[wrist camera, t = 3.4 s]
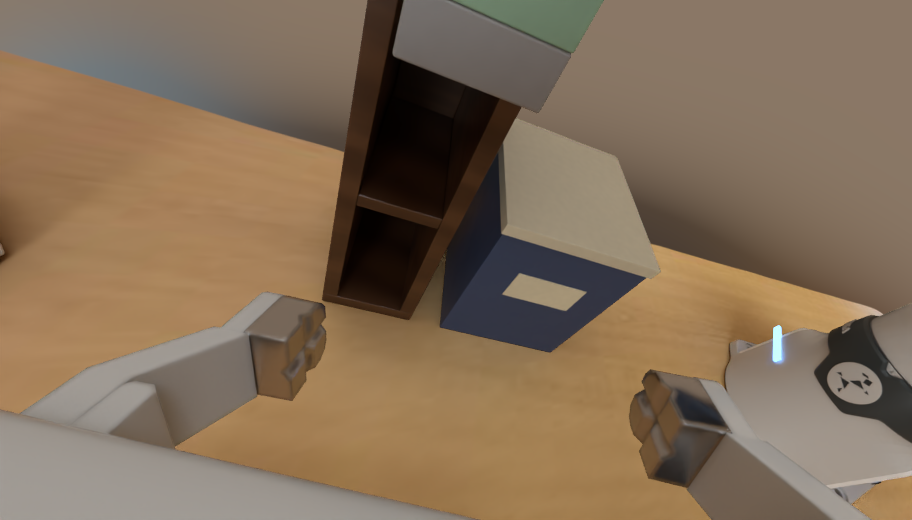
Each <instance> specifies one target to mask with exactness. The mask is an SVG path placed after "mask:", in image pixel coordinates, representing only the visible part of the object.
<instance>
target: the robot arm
mask: <svg viewBox="0 0 912 520" xmlns="http://www.w3.org/2000/svg"><path fill="white" fill-rule="evenodd" d="M325 318H326V312H325V306H324V305H323V304H322V303H318V302H314V301H309V300H305V299H300V298H296V297H291V296H287V295H281V294H277V293H272V292H263V293H261V294H259V295H258V296H257V297H256V298H255V299H254V300H252V301H251V302H250V303H249V304H248V305H247V306H245V307H244V308H243V309H242V310H241V311H239V312H238V313H237V314H236V315H235V316H234V317H232V318H231V319H230V320H229V321H228V322H226V323H225V324H224V325H223V326H222V327H221V328H219V327H211V328H208V329H205V330H202V331H199V332H196V333H193V334H190V335H186V336H183V337H180V338H177V339H174V340H171V341H168V342H165V343H162V344H159V345H156V346H153V347H149V348H146V349H143V350H140V351H137V352H134V353H131V354H128V355H125V356H122V357H119V358H116V359H112V360H109V361H106V362H103V363H100V364H97V365H94V366H91V367H88V368H86V369H84V370H83V371H81V372H80V373H79V374H77V375H76V376H74V377H73V378H71V379H70V380H68V381H67V382H65V383H64V384H62V385H61V386H59V387H58V388H56V389H55V390H53V391H52V392H51V393H49V394H48V395H46V396H45V397H43V398H42V399H40V400H39V401H37V402H36V403H34V404H33V405H31V406H30V407H28V408H27V409H25V410H24V411H23V412H21V413H20V414H18V413H14V412H10V411H5V410H1V409H0V520H479V519H475V518H471V517H466V516H462V515H458V514H453V513H449V512H445V511H440V510H436V509H432V508H427V507H423V506H419V505H414V504H410V503H406V502H401V501H397V500H393V499H388V498H384V497H380V496H375V495H371V494H367V493H362V492H358V491H353V490H349V489H345V488H340V487H336V486H332V485H327V484H323V483H319V482H314V481H310V480H306V479H301V478H297V477H293V476H288V475H284V474H279V473H275V472H271V471H266V470H262V469H258V468H253V467H249V466H245V465H240V464H236V463H232V462H227V461H223V460H219V459H214V458H210V457H205V456H201V455H197V454H192V453H188V452H184V451H179V450H176V449H175V446H177V445H178V444H180V443H182V442H183V441H185V440H187V439H188V438H190V437H192V436H193V435H195V434H196V433H198V432H200V431H201V430H203V429H205V428H206V427H208V426H210V425H211V424H213V423H215V422H216V421H218V420H219V419H221V418H223V417H224V416H226V415H228V414H229V413H231V412H233V411H234V410H236V409H238V408H239V407H241V406H242V405H244V404H246V403H247V402H249V401H251V400H252V399H254V398H256V397H257V394H258V395H263V396H268V397H274V398H279V399H284V400H290V401H293V399H294V398H295V396H296V395H297V393H298V392H299V390H300V389H301V388H302V386H303V385H304V383H305V382H306V372H307V371H309V370H311V369H313V368H315V367H316V366H317V364H318V362H319V361H320V359H321V357H322V354H323V352H324V349H325V344H326V331H325V329H324V328H323V326H322V325H321V323H322V322H323V321H324V319H325ZM730 354H731V359H730V362H729V364H728V366H727V368H726V372H725V383H726V389H727V392H726V390H725V389H724V387H723V386H722V385H721V384H720V383H718V382H717V381H713V380H707V379H701V378H696V377H693V378H692V377H687V376H681V375H676V374H671V373H666V372H661V371H656V370H651V369H650V370H649V371H648V372H647V373H646V374H645V376H644V378H643V380H642V384H643V386H644V390H643V391H641V392H639V393H637V394H635V396H634V398H633V400H632V402H631V405H630V413H629V419H630V426H631V429H632V432H633V435H634V436H635V437H636V438H637V439H638V440H639V441H640V442H641V443H642V444H643V445H642V446H641V448H640V450H639V453H640V456H641V459H642V462H643V464H644V467H645V470H646V473H647V476H648V478H649V479H653V480H657V481H661V482H665V483H669V484H673V485H678V486H682V487H686V488H688V489H687V491H688V492H689V493H690V494H691V495H692V497H693V498H694V499H695V500H696V501H697V502H698V504H699V505H700V506H701V507H702V508H703V510H704V511H705V512H706V513H707V514H708V516H709V517H710V518H711V519H712V520H871V519H870V518H868V517H867V516H866V515H864V514H863V513H862V512H860V511H859V510H858V509H856V508H855V507H854V506H852V505H851V504H852V503H853V502H854V501H856V500H857V499H858V498H860V497H861V496H862V495H863V494H865V493H866V492H867V491H868V490H870V489H871V488H872V487H873V486H875V485H876V484H879V483H881V481H884V480H890V479H896V478H903V477H908V476H912V303H910V304H907V305H905V306H903V307H901V308H898V309H896V310H893V311H891V312H889V313H886V314H884V315H881V316H875V315H870V316H867V317H864V318H861V319H858V320H857V319H856V320H853V321H850V322H848V323H846V324H844V325H843V326H841V327H838V328H836V329H834V330H832V331H831V332H830V333H823V332H819V331H816V330H811V329H807V328H800V329H797V330H794V331H791V332H789V333H786V334H783V335H781V326H779V325H778V326H776V327H774V331H773V339H770V340H768V341H765V342H763V343H760V344H758V345H757V344H753V343H750V342H747V341H743V340H736V341H733V342H731V343H730Z"/></svg>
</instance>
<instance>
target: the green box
mask: <svg viewBox="0 0 912 520" xmlns="http://www.w3.org/2000/svg"><path fill="white" fill-rule="evenodd" d="M603 1H604V0H404V1H403V6H402V11H401V15H400V20H399V24H398V29H397V34H396V38H395V43H394V48H393V56H394V57H396V58H399V59H401V60H404V61H406V62H409V63H411V64H414V65H416V66H419V67H421V68H424V69H426V70H429V71H432V72H434V73H437V74H439V75H442V76H444V77H447V78H449V79H452V80H454V81H457V82H459V83H462V84H465V85H467V86H470V87H472V88H475V89H477V90H480V91H482V92H485V93H487V94H490V95H492V96H495V97H498V98H500V99H503V100H505V101H508V102H510V103H513V104H515V105H518V106H520V107H523V108H525V109H528V110H531V111H533V112H536V113H538V112H539V111H540V110H541V108H542V107H543V105H544V103H545V101H546V100H547V98H548V96H549V94H550V93H551V91H552V89H553V87H554V86H555V84H556V82H557V80H558V79H559V77H560V75H561V73H562V71H563V70H564V68H565V66H566V65H567V63H568V61H569V59H570V58H571V53H573V52H574V51H575V49H576V48H577V46H578V44H579V43H580V41H581V39H582V37H583V35H584V34H585V32H586V30H587V29H588V27H589V25H590V23H591V22H592V20H593V18H594V17H595V15H596V13H597V11H598V10H599V8H600V6H601V4H602V3H603Z"/></svg>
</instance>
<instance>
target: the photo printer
mask: <svg viewBox="0 0 912 520" xmlns="http://www.w3.org/2000/svg"><path fill="white" fill-rule="evenodd" d="M4 254H5V252H4V250H3V247H2V245H1V243H0V256H1V255H4Z"/></svg>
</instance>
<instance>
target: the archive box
mask: <svg viewBox="0 0 912 520" xmlns="http://www.w3.org/2000/svg"><path fill="white" fill-rule="evenodd" d="M660 272H661V270H660V268H659V265H658V263H657V260H656V257H655V255H654V252H653V250H652V247H651V244H650V242H649V239H648V237H647V234H646V232H645V229H644V226H643V224H642V221H641V219H640V216H639V213H638V211H637V208H636V206H635V203H634V200H633V198H632V195H631V193H630V190H629V188H628V185H627V182H626V180H625V177H624V175H623V172H622V170H621V167H620V164H619V162H618V159H617V157H616V156H613V155H610V154H608V153H605V152H603V151H600V150H598V149H595V148H592V147H590V146H587V145H585V144H582V143H579V142H577V141H574V140H572V139H569V138H566V137H564V136H561V135H559V134H556V133H553V132H551V131H548V130H545V129H543V128H540V127H538V126H535V125H533V124H530V123H527V122H525V121H522V120H520V119H517V118H516V119H515V121H514V122H513V124H512V126H511V128H510V130H509V132H508V134H507V136H506V138H505V139H504V141H503V143H502V145H501V147H500V149H499V151H498V153H497V155H496V157H495V158H494V160H493V162H492V164H491V166H490V168H489V170H488V172H487V174H486V175H485V177H484V179H483V181H482V183H481V185H480V187H479V189H478V191H477V193H476V194H475V196H474V198H473V200H472V202H471V204H470V206H469V208H468V210H467V211H466V213H465V215H464V217H463V219H462V221H461V223H460V225H459V227H458V229H457V230H456V232H455V234H454V236H453V238H452V240H451V242H450V244H449V246H448V248H447V255H446V265H445V276H444V287H443V298H442V309H441V320H440V327H441V328H445V329H450V330H454V331H459V332H463V333H467V334H472V335H476V336H480V337H485V338H489V339H493V340H498V341H502V342H507V343H511V344H515V345H520V346H524V347H528V348H533V349H537V350H541V351H546V352H552V351H553V350H554V349H555V348H557V347H558V346H559V345H561V344H562V343H563V342H564V341H566V340H567V339H568V338H570V337H571V336H572V335H573V334H575V333H576V332H577V331H579V330H580V329H581V328H582V327H584V326H585V325H586V324H588V323H589V322H590V321H591V320H593V319H594V318H595V317H597V316H598V315H599V314H601V313H602V312H603V311H604V310H606V309H607V308H608V307H610V306H611V305H612V304H613V303H615V302H616V301H617V300H619V299H620V298H621V297H622V296H624V295H625V294H626V293H628V292H629V291H630V290H631V289H633V288H634V287H635V286H637V285H638V284H639V283H640V282H642V281H643V280H644V279H646V278H649V279H652V278H653V277H655V276H656V275H657V274H659V273H660Z"/></svg>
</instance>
